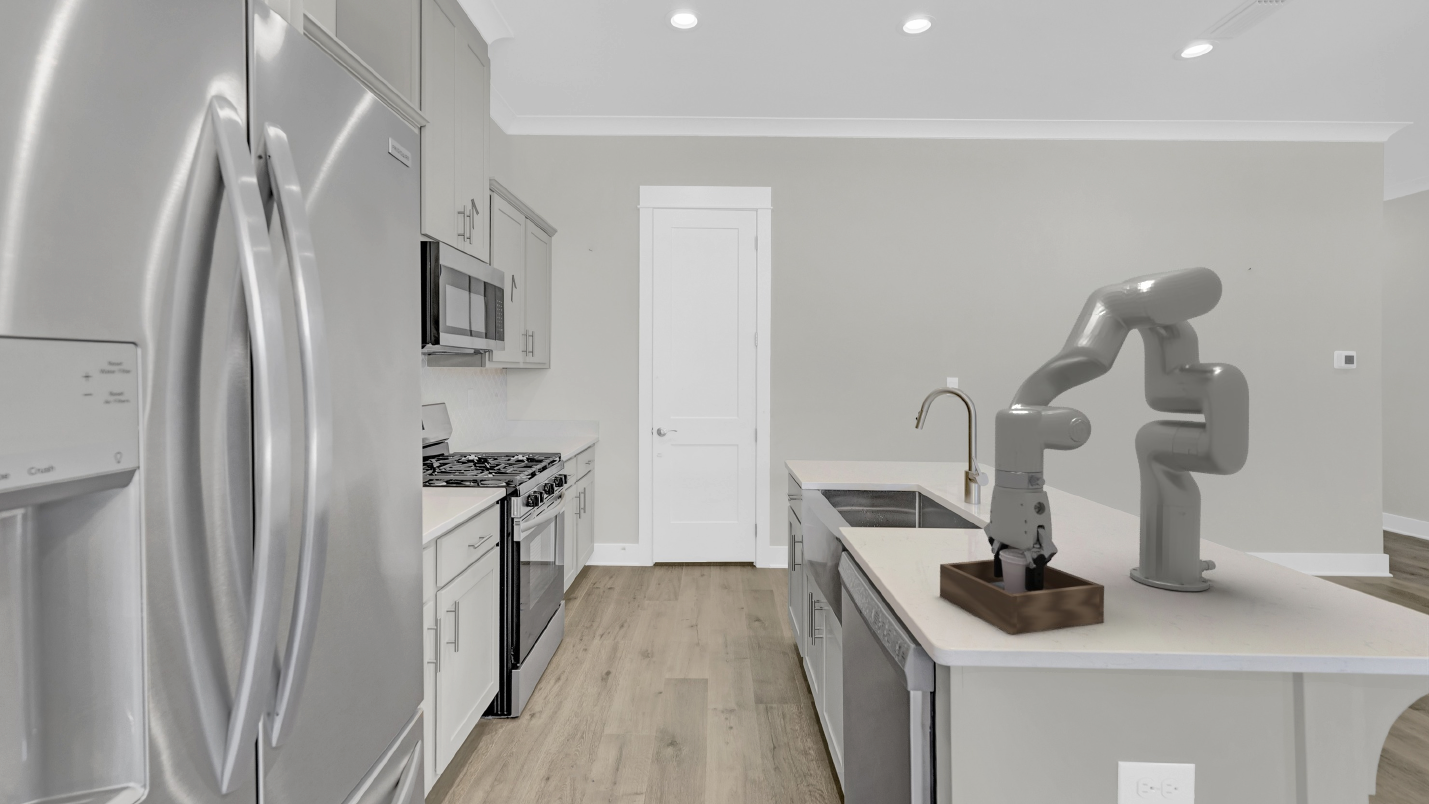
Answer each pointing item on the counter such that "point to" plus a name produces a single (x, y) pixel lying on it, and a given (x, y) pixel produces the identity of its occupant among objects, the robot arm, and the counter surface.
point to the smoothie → (1014, 570)
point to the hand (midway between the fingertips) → (1017, 582)
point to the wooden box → (1022, 598)
